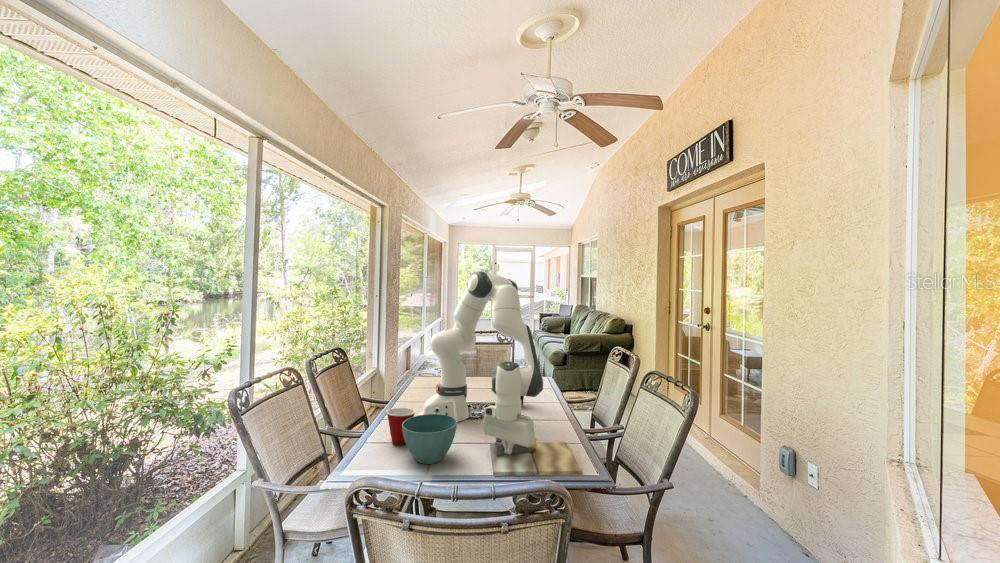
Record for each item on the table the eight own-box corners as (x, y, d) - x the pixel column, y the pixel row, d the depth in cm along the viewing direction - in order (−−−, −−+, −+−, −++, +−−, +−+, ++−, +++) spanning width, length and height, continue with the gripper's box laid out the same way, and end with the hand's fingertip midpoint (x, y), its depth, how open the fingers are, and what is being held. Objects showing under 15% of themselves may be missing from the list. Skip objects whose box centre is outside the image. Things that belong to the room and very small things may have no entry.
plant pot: (407, 475, 124) (407, 435, 124) (397, 452, 140) (398, 417, 140) (463, 465, 131) (463, 428, 131) (447, 444, 148) (448, 411, 148)
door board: (493, 475, 124) (493, 471, 124) (490, 446, 146) (490, 443, 146) (582, 474, 126) (582, 470, 126) (565, 445, 148) (565, 442, 148)
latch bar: (533, 447, 142) (533, 436, 142) (537, 451, 139) (537, 440, 139) (493, 452, 138) (494, 440, 138) (497, 456, 134) (497, 444, 134)
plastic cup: (421, 440, 151) (422, 408, 151) (402, 450, 141) (403, 416, 141) (398, 434, 156) (399, 404, 156) (379, 444, 146) (379, 412, 146)
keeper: (496, 449, 141) (496, 440, 141) (495, 445, 144) (496, 437, 144) (507, 449, 141) (507, 440, 141) (507, 445, 144) (507, 437, 144)
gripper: (539, 415, 130) (539, 458, 130) (492, 404, 144) (492, 443, 143) (527, 420, 126) (527, 465, 125) (480, 407, 139) (480, 448, 139)
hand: (508, 453), depth 134 cm, fingers closed
